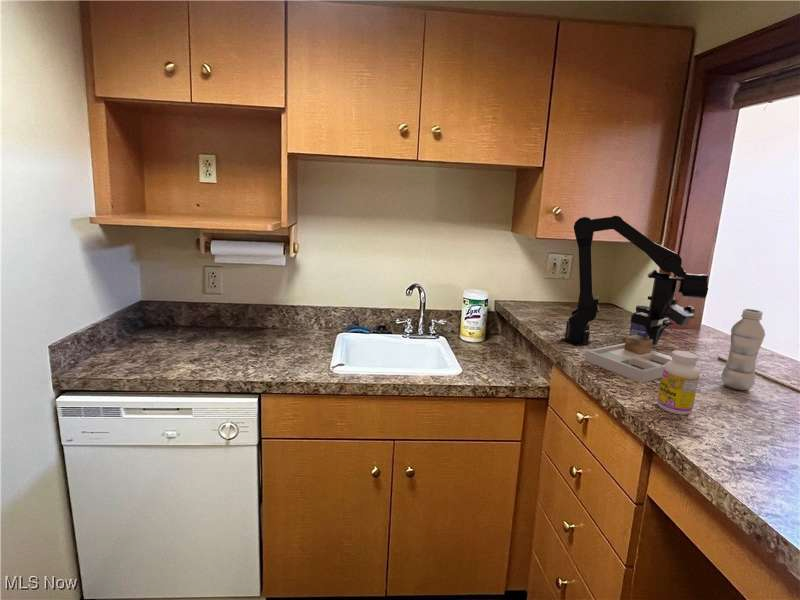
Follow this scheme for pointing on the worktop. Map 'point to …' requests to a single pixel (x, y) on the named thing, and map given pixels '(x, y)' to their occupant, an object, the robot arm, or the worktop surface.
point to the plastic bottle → (744, 351)
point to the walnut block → (638, 344)
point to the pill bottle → (636, 328)
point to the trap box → (629, 362)
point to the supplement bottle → (679, 383)
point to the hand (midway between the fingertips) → (653, 344)
